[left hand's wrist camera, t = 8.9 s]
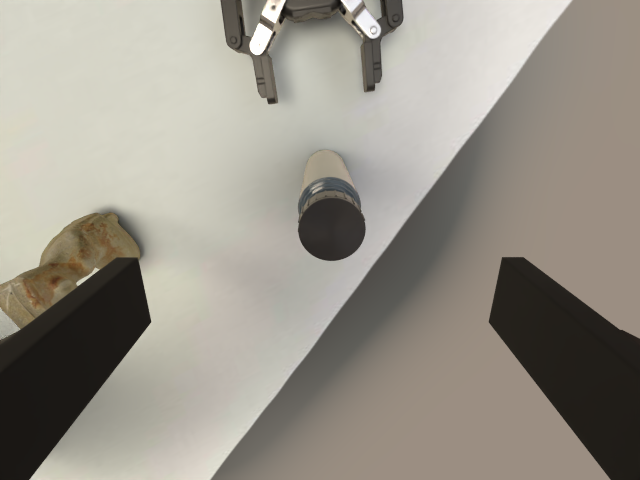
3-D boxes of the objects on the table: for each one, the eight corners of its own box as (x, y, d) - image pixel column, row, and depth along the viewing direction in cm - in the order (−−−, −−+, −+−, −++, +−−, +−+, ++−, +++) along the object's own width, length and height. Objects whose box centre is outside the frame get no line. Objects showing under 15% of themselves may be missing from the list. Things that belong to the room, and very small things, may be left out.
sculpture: (110, 269, 43) (11, 347, 29) (78, 216, 41) (-47, 274, 27) (152, 255, 43) (71, 328, 29) (122, 201, 40) (17, 252, 26)
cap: (339, 260, 23) (341, 273, 21) (287, 230, 22) (284, 240, 20) (375, 211, 22) (380, 220, 20) (320, 176, 21) (321, 183, 19)
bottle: (331, 196, 40) (341, 274, 22) (298, 176, 39) (280, 238, 21) (352, 163, 39) (384, 217, 20) (319, 141, 38) (320, 176, 20)
